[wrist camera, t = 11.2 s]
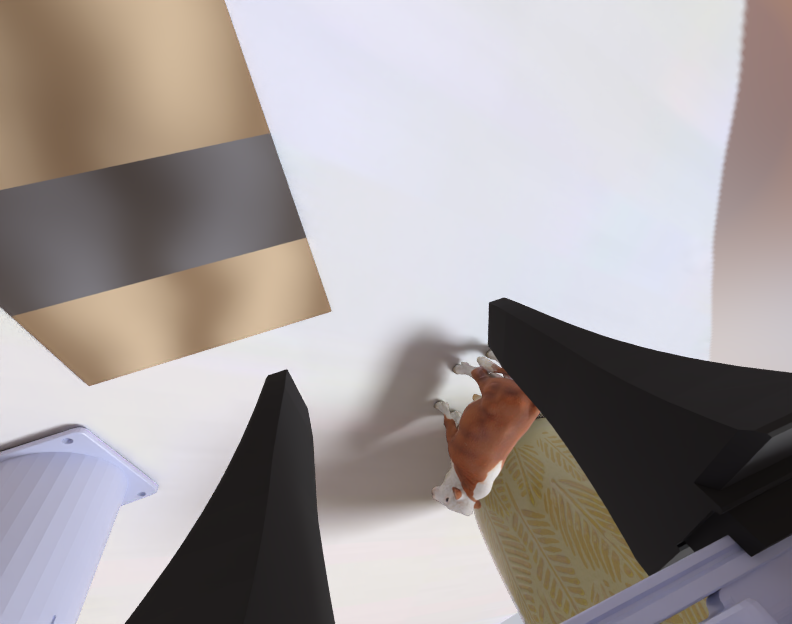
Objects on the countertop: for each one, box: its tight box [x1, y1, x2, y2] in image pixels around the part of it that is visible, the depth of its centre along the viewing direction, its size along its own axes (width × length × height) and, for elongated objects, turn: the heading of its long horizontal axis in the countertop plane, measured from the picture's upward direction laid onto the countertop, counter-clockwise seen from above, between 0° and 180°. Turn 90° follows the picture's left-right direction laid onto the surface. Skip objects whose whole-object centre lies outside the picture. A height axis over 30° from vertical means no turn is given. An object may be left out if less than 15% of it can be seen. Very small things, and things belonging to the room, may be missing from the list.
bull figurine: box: [432, 350, 540, 516], centre depth 26 cm, size 4×14×8 cm, turn 154°
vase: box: [473, 418, 709, 624], centre depth 29 cm, size 17×17×27 cm
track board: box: [0, 0, 331, 386], centre depth 13 cm, size 14×20×1 cm
